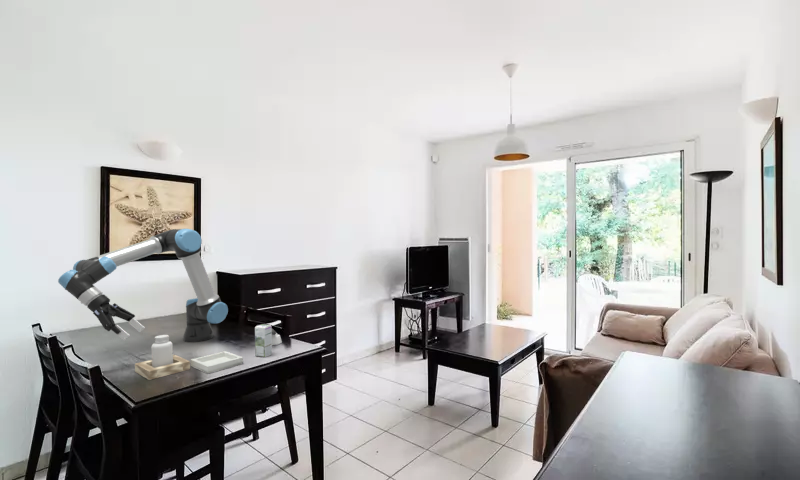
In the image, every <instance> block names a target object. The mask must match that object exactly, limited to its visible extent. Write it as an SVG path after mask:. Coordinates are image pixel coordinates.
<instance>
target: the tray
mask: <svg viewBox="0 0 800 480" xmlns="http://www.w3.org/2000/svg"><path fill="white" fill-rule="evenodd" d="M240 365H244V357H243V356H241V355H238V354H235V353H232V352H229V351H226V350H225V351H224V350H223V351H221V352H215V353H212V354H207V355H204V356H200V357H195V358H191V359H190V368H191V367H192V368H194V369H197V370H199V371H200V372H203V373H205V374H207V375H208V374H211V373H215V372H219V371H222V370H223V371H224V370H226V369H231V368H234V367H237V366H240Z"/></svg>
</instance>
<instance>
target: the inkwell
mask: <svg viewBox="0 0 800 480" xmlns="http://www.w3.org/2000/svg"><path fill="white" fill-rule="evenodd" d="M282 343H283V341H282V338H281V335H280V334H278V333H277V331H276V330H274V329H273V328H272V346H277V345H280V344H282Z"/></svg>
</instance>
